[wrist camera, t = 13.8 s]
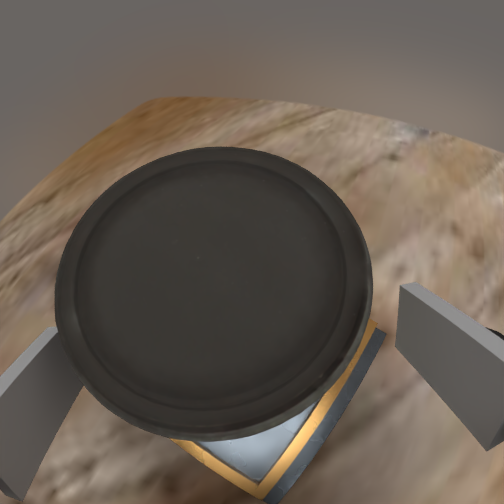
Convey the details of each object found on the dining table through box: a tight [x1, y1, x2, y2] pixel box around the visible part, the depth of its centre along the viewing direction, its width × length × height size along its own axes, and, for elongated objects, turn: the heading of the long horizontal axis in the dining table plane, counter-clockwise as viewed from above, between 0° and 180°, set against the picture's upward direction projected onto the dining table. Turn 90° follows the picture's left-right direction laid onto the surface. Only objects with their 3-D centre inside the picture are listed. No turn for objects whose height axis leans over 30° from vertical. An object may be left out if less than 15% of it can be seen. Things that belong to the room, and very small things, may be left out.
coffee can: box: [55, 147, 373, 442], centre depth 15 cm, size 10×10×14 cm
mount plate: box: [170, 319, 386, 504], centre depth 21 cm, size 17×15×2 cm
